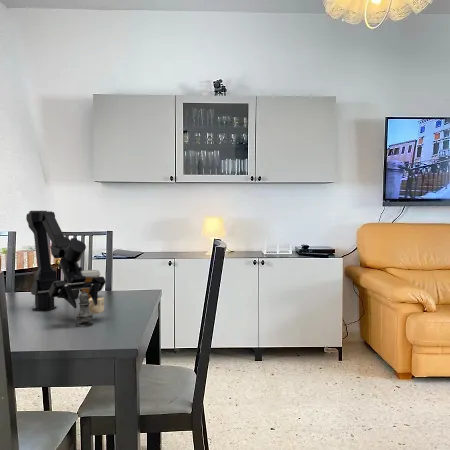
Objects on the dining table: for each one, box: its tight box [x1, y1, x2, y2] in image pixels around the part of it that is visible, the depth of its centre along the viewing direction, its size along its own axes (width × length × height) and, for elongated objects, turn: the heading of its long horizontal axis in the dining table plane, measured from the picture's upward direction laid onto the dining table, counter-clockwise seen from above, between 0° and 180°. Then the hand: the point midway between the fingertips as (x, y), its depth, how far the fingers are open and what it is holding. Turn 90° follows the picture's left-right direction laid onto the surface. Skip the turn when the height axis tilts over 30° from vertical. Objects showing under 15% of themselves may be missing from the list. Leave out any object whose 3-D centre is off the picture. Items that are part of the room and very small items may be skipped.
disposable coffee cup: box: [80, 269, 101, 299], centre depth 205 cm, size 10×10×12 cm
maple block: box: [89, 297, 105, 314], centre depth 178 cm, size 5×5×5 cm
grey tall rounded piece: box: [75, 290, 94, 328], centre depth 157 cm, size 6×6×12 cm
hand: (86, 306), depth 156 cm, fingers open, 7 cm apart
